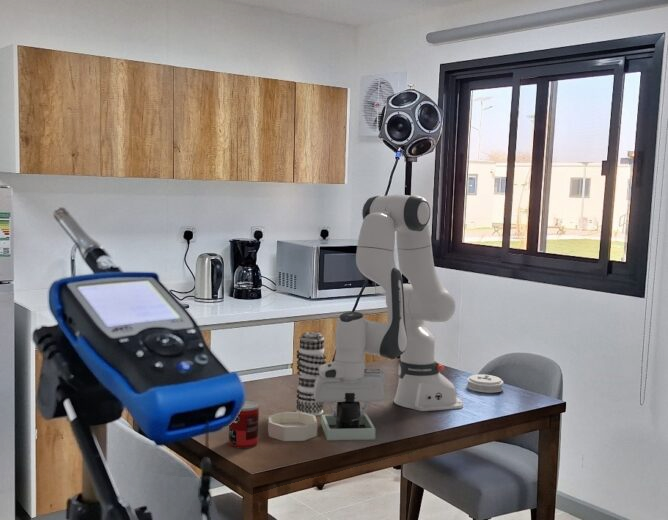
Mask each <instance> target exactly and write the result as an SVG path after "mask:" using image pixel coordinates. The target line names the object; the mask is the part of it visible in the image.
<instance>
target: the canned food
mask: <svg viewBox="0 0 668 520" xmlns="http://www.w3.org/2000/svg"><path fill="white" fill-rule="evenodd" d="M259 406H260V405H259V403H258V402H256V401H252V400H246V401H245V404H244V406H243V408H242V410H241V412H240V414H239V415H238V417H237V418H236V420H235V421H234V422H233V423H232V424H231V425H229V424H228V443H229V445H230V446H231V447H233V446H234V448H236V447H239V448H238V449H249V447H250V448H253V446H254V447H255V446H257V444H258V443H259V421H260V420H259V418H260V415H259V414H260V410H259V409H260V407H259Z"/></svg>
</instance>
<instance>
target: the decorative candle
mask: <svg viewBox="0 0 668 520" xmlns="http://www.w3.org/2000/svg"><path fill="white" fill-rule="evenodd" d="M298 339H299V346H298V350H296V359H297V361H296V364H297V366H296V369H297V370H298V371H297V372H296V375H297V377H298V384H297V389H296V393H297V394H296V398H297V399H296V405H295V406H296V412H303V413H307V414H311V415H314V416H315V417H318V416H322V415H324V410H323V409H324V408H325V407H324V403H325V402H316V401H315V399H314V396H313V395H314V385H315V380H316V378H317V376H318V375H319V366H321V365H324V364H327V363H326V360H325V359H327V356H326V355H324V354H325V346H324V345H325V339H326V338H325V337H324V336H323V334H322V333H320V332H317V331H307V332H303V333H302V335H301V336H298Z"/></svg>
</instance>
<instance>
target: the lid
mask: <svg viewBox="0 0 668 520" xmlns="http://www.w3.org/2000/svg"><path fill="white" fill-rule="evenodd" d="M466 381H467V385H466V387H467V389H468V390H471V391H474V392H478V393H479V392H481V393H499V392H502V391H503V390H504V388H503V384H504V381H503V379H502V378H500V377H498V376H495V375H490V374H485V373H483V374H480V373H479V374H477V373H476V374H472V375H470V376H469V377H467V378H466Z"/></svg>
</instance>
